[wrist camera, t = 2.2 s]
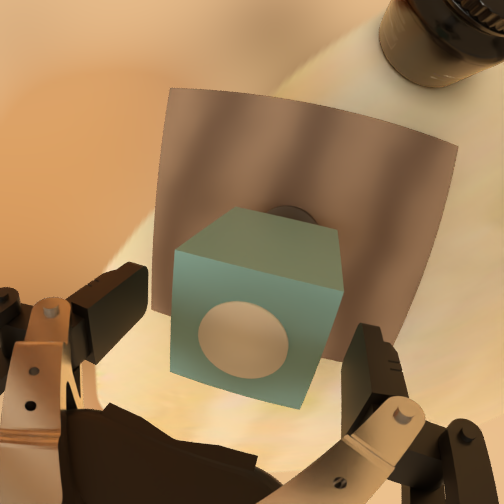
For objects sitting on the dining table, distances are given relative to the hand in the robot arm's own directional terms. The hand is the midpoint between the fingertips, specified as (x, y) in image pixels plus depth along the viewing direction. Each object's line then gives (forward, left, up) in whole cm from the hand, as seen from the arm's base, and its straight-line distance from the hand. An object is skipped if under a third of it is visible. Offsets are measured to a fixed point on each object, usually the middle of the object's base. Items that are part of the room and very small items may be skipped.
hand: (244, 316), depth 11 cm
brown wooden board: (0, 0, -13) cm, 13 cm away
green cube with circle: (0, 0, -6) cm, 6 cm away
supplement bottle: (-7, -16, -13) cm, 22 cm away
